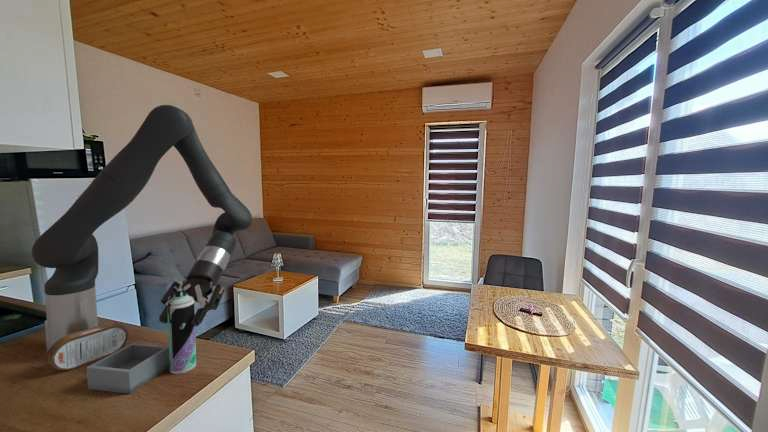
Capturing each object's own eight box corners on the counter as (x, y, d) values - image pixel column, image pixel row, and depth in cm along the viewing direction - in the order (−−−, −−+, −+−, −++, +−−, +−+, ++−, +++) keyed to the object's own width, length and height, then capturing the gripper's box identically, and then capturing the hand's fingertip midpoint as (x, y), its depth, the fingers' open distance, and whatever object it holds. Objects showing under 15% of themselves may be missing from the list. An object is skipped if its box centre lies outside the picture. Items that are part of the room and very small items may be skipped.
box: (87, 388, 65) (86, 367, 65) (133, 361, 76) (132, 342, 75) (130, 393, 64) (129, 372, 64) (171, 365, 74) (170, 346, 74)
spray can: (183, 375, 71) (180, 295, 69) (164, 372, 72) (160, 292, 70) (201, 362, 76) (199, 287, 74) (183, 359, 77) (180, 285, 75)
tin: (125, 345, 83) (123, 317, 82) (130, 348, 82) (129, 319, 81) (46, 374, 70) (44, 340, 69) (51, 379, 68) (48, 344, 68)
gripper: (178, 257, 80) (141, 315, 70) (227, 260, 78) (196, 320, 68) (194, 271, 86) (161, 326, 75) (239, 274, 84) (213, 331, 74)
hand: (178, 323), depth 72 cm, fingers open, 8 cm apart
